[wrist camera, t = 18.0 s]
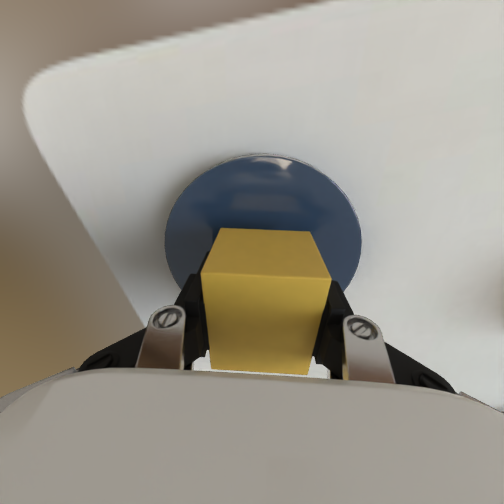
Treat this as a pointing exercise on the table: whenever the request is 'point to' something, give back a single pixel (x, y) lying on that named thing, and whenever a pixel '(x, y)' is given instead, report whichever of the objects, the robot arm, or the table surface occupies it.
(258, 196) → the plate
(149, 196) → the table surface
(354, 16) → the table surface
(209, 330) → the butter pat
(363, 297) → the table surface
